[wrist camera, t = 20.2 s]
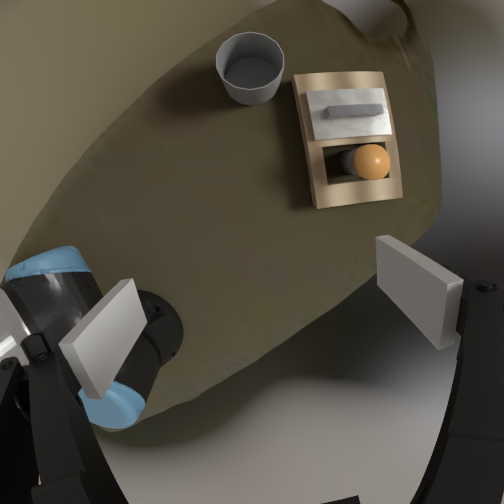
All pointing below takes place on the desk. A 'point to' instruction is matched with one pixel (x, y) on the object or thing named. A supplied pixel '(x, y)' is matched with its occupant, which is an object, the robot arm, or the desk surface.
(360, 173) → the orange grey cylinder
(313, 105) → the shutter
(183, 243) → the desk surface
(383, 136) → the socket board
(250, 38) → the cup
